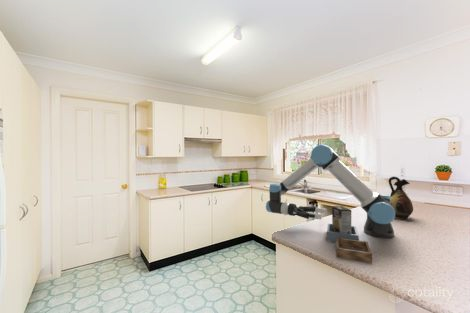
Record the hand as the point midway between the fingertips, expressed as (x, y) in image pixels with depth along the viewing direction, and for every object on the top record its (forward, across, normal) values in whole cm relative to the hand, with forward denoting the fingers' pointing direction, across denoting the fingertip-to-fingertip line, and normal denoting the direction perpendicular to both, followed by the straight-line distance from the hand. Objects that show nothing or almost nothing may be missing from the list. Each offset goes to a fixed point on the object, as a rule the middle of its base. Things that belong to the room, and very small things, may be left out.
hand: (323, 213), depth 127 cm
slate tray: (+10, 0, -12) cm, 15 cm away
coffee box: (+9, 0, -11) cm, 15 cm away
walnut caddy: (+17, +18, -12) cm, 28 cm away
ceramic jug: (+38, -64, -12) cm, 75 cm away
